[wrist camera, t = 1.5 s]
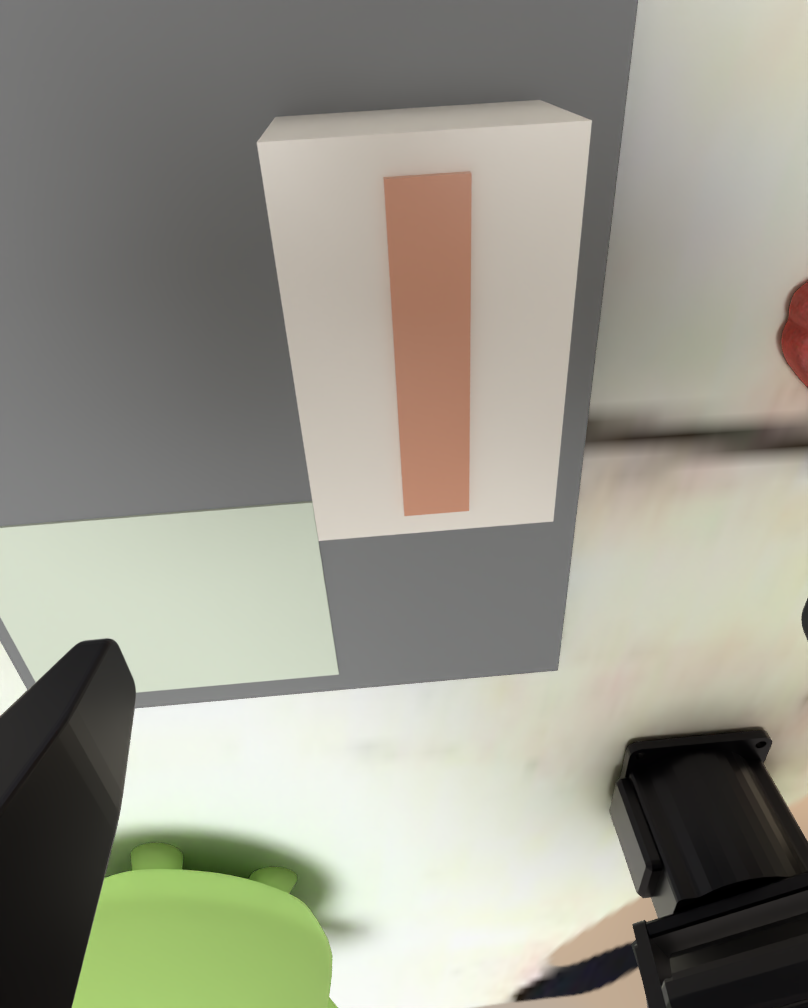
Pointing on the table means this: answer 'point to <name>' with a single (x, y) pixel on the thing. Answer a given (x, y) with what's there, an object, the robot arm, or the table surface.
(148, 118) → the mat
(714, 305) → the table surface
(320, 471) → the box
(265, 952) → the teapot
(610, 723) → the table surface
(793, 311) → the stacking bear
